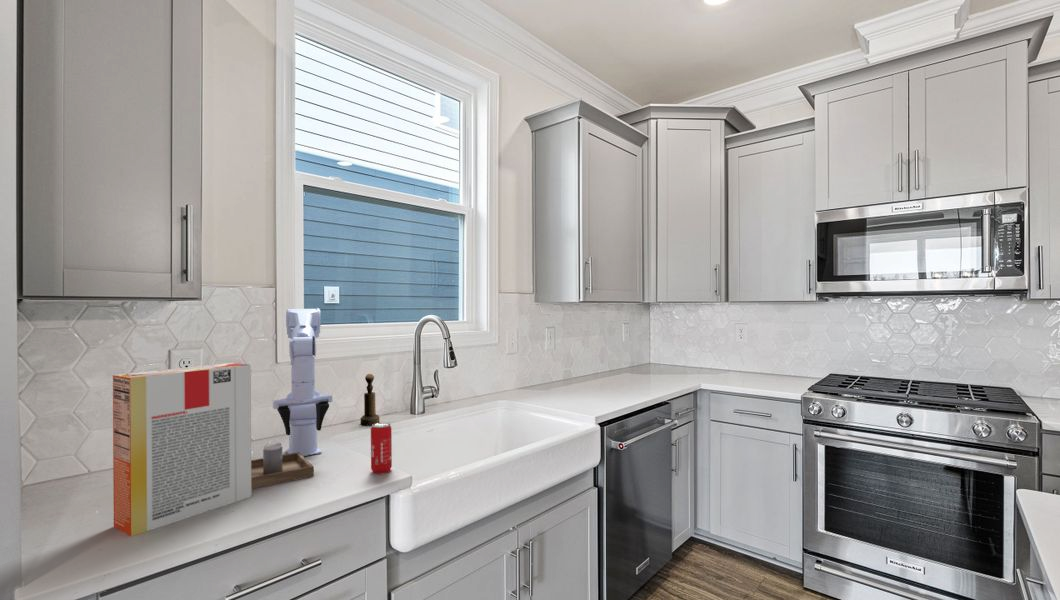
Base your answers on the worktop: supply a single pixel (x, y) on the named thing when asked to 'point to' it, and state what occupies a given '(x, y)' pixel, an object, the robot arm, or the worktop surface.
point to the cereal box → (180, 443)
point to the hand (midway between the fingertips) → (303, 432)
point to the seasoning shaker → (272, 458)
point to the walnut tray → (292, 470)
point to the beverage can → (381, 448)
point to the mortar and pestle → (369, 404)
